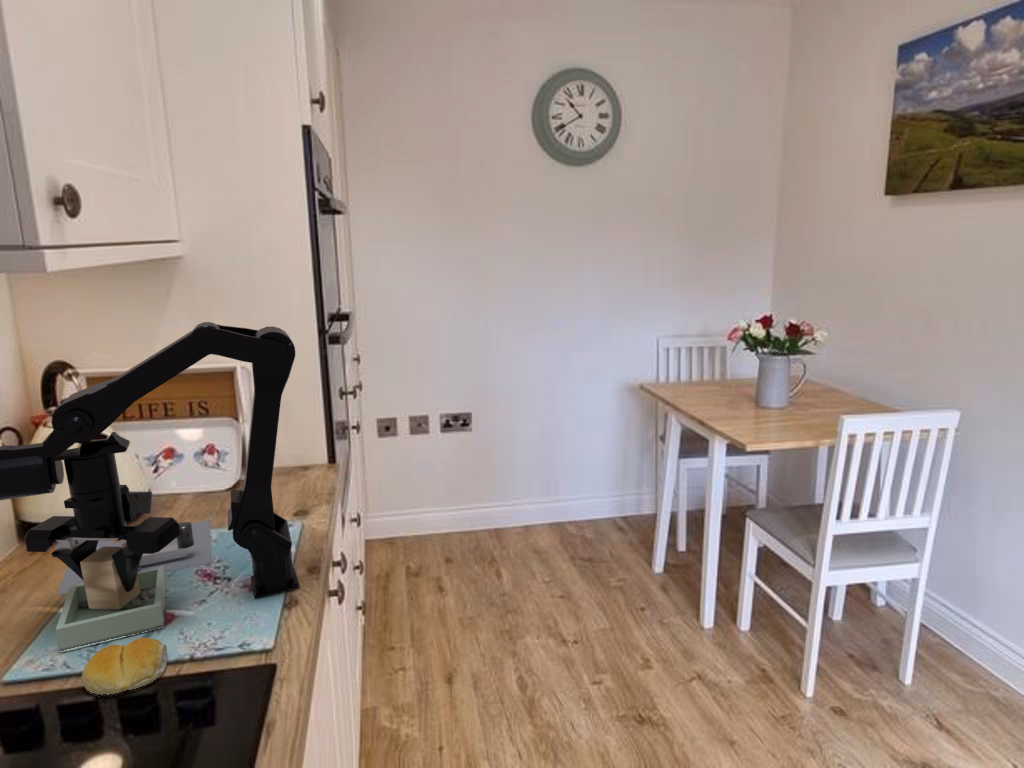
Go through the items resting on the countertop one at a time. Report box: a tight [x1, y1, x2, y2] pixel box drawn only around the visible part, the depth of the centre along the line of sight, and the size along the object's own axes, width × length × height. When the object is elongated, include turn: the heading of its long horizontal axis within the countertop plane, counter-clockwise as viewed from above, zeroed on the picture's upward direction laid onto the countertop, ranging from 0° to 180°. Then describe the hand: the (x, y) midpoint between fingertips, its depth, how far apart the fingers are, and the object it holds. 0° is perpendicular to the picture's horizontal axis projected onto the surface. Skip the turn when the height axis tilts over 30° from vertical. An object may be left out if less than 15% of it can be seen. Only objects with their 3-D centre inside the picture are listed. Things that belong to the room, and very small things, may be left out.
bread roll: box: [81, 637, 168, 695], centre depth 80 cm, size 8×9×4 cm
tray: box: [55, 566, 167, 652], centre depth 92 cm, size 12×12×4 cm
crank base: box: [56, 519, 213, 597], centre depth 109 cm, size 18×21×1 cm
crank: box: [139, 521, 194, 566], centre depth 105 cm, size 13×4×5 cm, turn 116°
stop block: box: [80, 546, 142, 609], centre depth 91 cm, size 4×4×7 cm
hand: (113, 590), depth 92 cm, fingers closed on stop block, 4 cm apart
